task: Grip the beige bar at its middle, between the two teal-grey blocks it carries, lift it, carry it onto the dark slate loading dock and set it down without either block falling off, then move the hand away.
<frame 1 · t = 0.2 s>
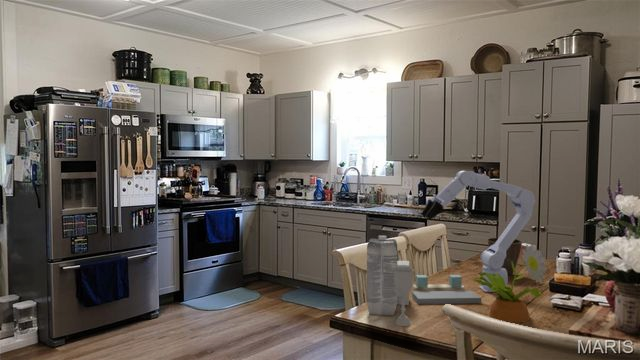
hand: (425, 216, 203), 30 cm above the table, tool tilted 45°, fingers open, 7 cm apart
beige bar: (438, 293, 202), on the table, touching near cargo block
juice carton: (382, 312, 176), on the table
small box: (525, 265, 252), on the table
chalice: (403, 324, 164), on the table
far cargo block: (421, 286, 202), point 3 cm above the table
supplement box: (397, 302, 189), on the table
near cargo block: (455, 285, 202), point 3 cm above the table, touching beige bar
plant pot: (504, 274, 232), on the table
decorative plant: (504, 315, 173), on the table
loading dock: (445, 299, 192), on the table
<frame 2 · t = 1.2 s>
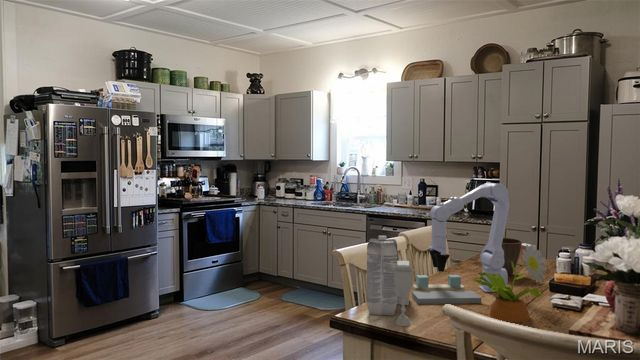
hand: (438, 269, 202), 9 cm above the table, tool pointing down, fingers open, 7 cm apart
beige bar: (438, 293, 202), on the table, touching far cargo block, near cargo block
far cargo block: (422, 286, 202), point 3 cm above the table, touching beige bar
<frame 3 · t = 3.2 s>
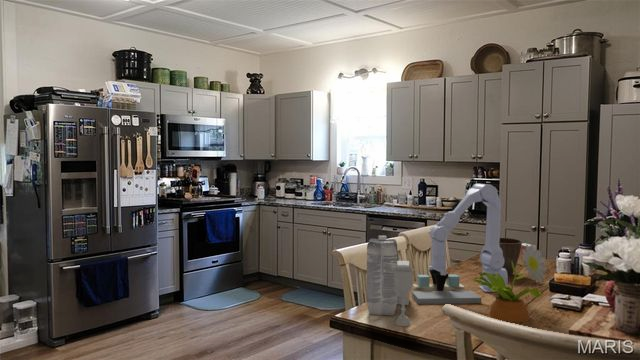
hand: (438, 288, 202), 1 cm above the table, tool pointing down, fingers closed on beige bar, 5 cm apart
beige bar: (438, 292, 202), on the table, touching far cargo block, gripper
near cargo block: (452, 285, 202), point 3 cm above the table
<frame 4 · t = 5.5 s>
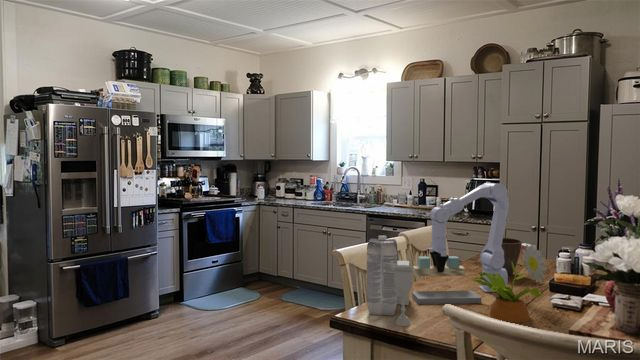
hand: (438, 270, 201), 9 cm above the table, tool pointing down, fingers closed on beige bar, 5 cm apart
beige bar: (438, 274, 202), point 7 cm above the table, touching far cargo block, gripper, near cargo block
far cargo block: (423, 267, 201), point 10 cm above the table, touching beige bar
near cargo block: (452, 267, 202), point 10 cm above the table, touching beige bar
everything else where it was.
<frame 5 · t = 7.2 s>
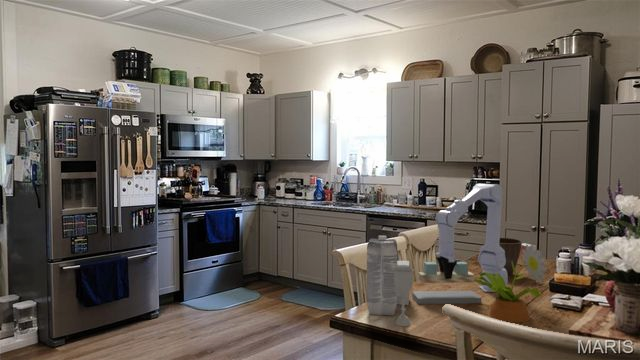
hand: (446, 276, 191), 9 cm above the table, tool pointing down, fingers closed on beige bar, 5 cm apart
beige bar: (445, 281, 191), point 7 cm above the table, touching far cargo block, gripper, near cargo block
far cargo block: (430, 273, 191), point 10 cm above the table, touching beige bar
near cargo block: (460, 273, 191), point 10 cm above the table, touching beige bar
everything else where it was.
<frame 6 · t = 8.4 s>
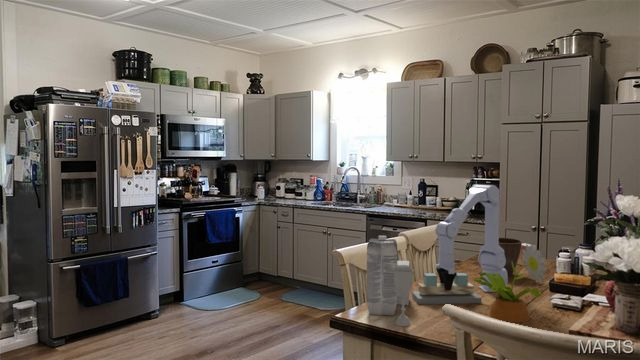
hand: (445, 288, 191), 4 cm above the table, tool pointing down, fingers closed on beige bar, 5 cm apart
beige bar: (445, 292, 191), point 3 cm above the table, touching far cargo block, gripper, near cargo block
far cargo block: (430, 284, 191), point 6 cm above the table, touching beige bar
near cargo block: (460, 284, 191), point 6 cm above the table, touching beige bar
everything else where it was.
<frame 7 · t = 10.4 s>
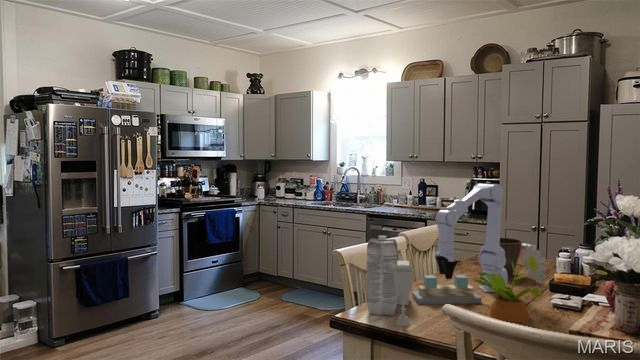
hand: (445, 276, 192), 9 cm above the table, tool pointing down, fingers open, 7 cm apart
beige bar: (445, 294, 191), point 2 cm above the table, touching far cargo block, loading dock, near cargo block
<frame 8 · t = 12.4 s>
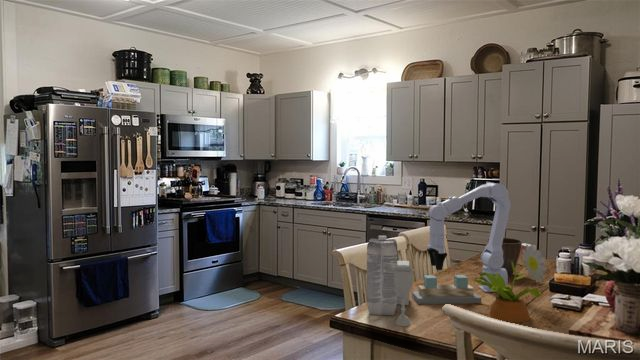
hand: (436, 267, 205), 9 cm above the table, tool pointing down, fingers open, 7 cm apart
nothing on the table moved.
at the end: beige bar inside the target area on the loading dock (0.0 cm from its centre), point 2.0 cm above the loading dock's base; near cargo block 1.7 cm from the target spot on the beige bar, point 3.0 cm above the beige bar's base; far cargo block 1.5 cm from the target spot on the beige bar, point 3.0 cm above the beige bar's base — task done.
